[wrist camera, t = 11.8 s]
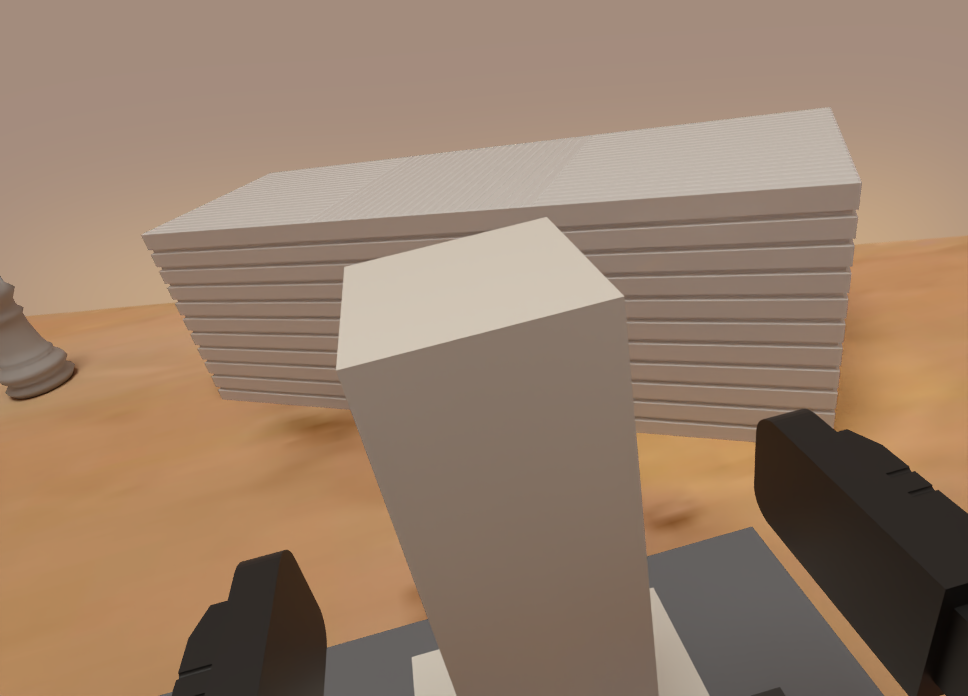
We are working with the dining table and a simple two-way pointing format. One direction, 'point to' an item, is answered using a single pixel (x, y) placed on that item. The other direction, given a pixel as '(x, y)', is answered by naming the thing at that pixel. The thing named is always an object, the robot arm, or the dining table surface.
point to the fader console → (697, 620)
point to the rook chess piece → (27, 353)
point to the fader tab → (510, 464)
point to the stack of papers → (589, 226)
